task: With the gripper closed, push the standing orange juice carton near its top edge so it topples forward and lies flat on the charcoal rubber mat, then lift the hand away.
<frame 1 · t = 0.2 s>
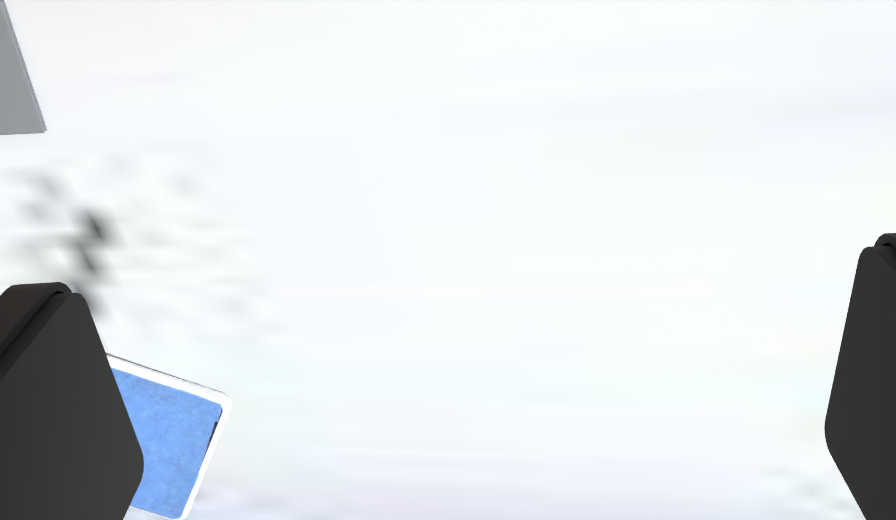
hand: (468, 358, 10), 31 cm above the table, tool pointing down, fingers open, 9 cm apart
tablet computer: (71, 407, 53), on the table
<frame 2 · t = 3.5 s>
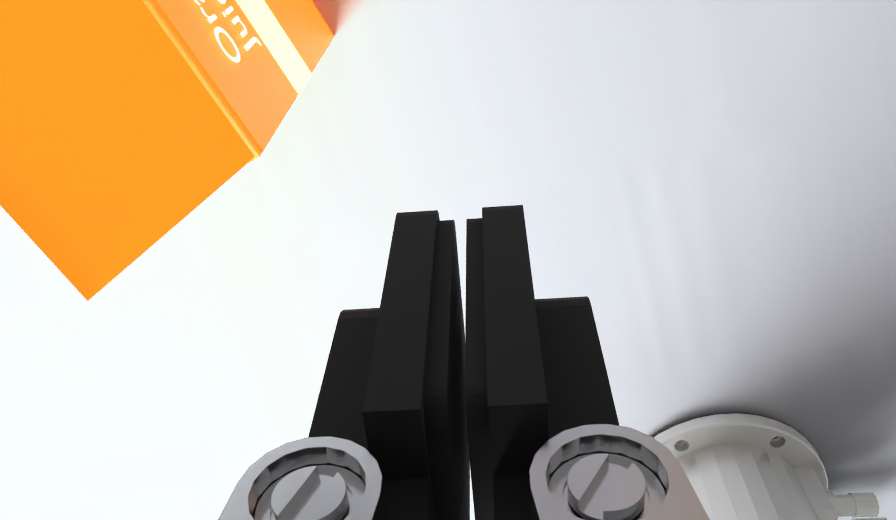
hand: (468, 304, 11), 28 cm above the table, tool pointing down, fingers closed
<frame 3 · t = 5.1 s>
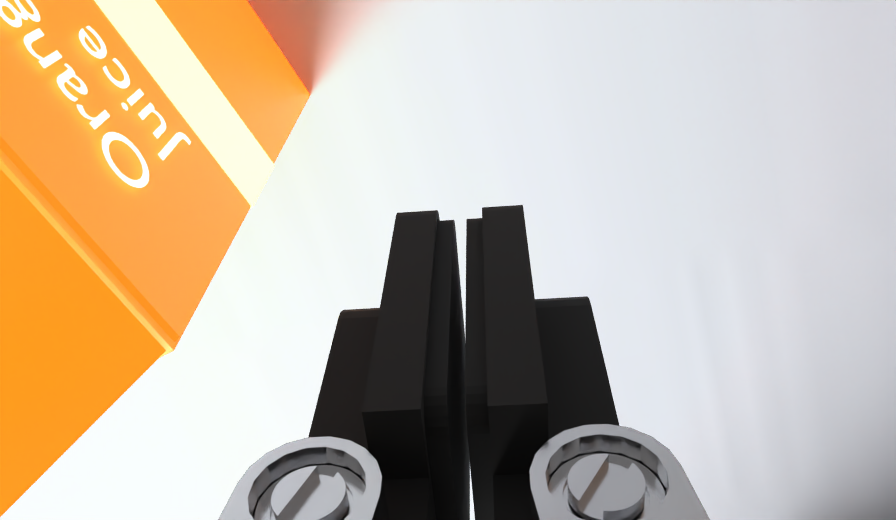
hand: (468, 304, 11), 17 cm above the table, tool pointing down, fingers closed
orange juice: (145, 36, 27), on the table
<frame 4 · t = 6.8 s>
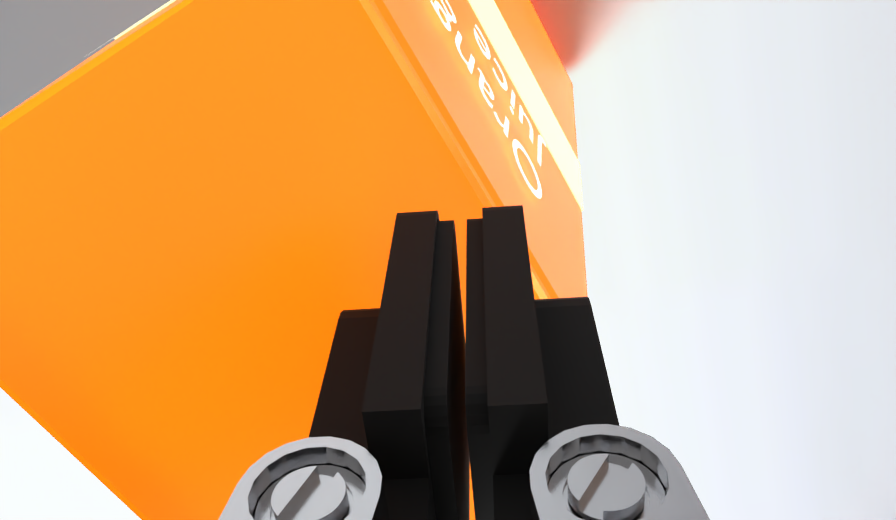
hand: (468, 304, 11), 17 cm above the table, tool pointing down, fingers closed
orange juice: (409, 20, 26), on the table
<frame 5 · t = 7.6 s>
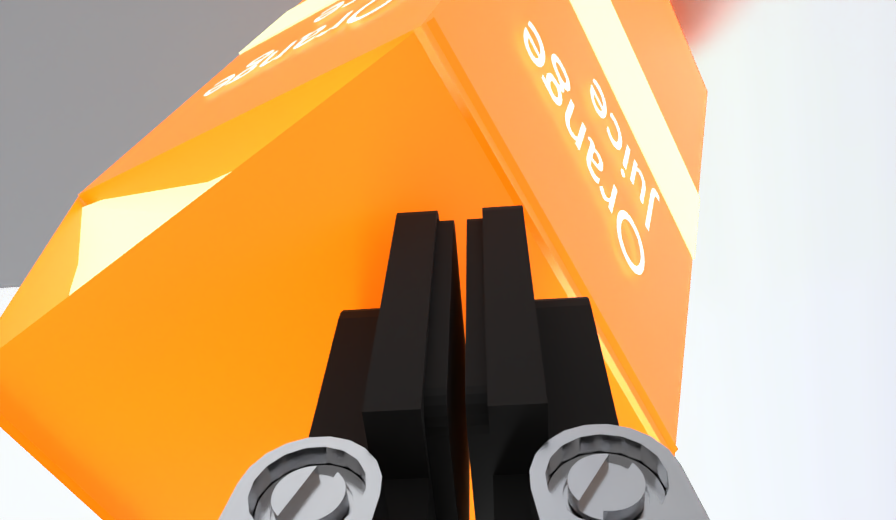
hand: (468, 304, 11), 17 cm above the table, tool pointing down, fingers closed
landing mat: (47, 46, 27), on the table
orange juice: (539, 14, 25), point 1 cm above the table
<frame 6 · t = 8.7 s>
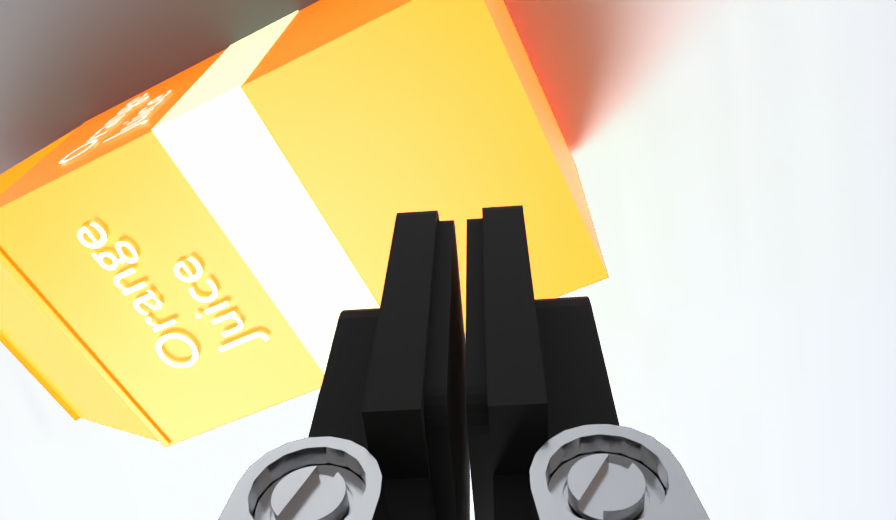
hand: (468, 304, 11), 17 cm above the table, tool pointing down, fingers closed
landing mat: (123, 37, 26), on the table
orange juice: (541, 86, 22), point 4 cm above the table, touching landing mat
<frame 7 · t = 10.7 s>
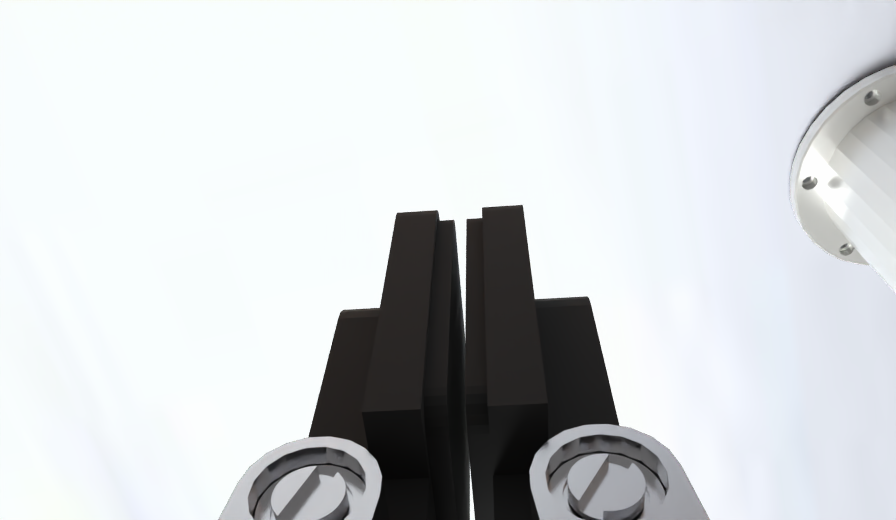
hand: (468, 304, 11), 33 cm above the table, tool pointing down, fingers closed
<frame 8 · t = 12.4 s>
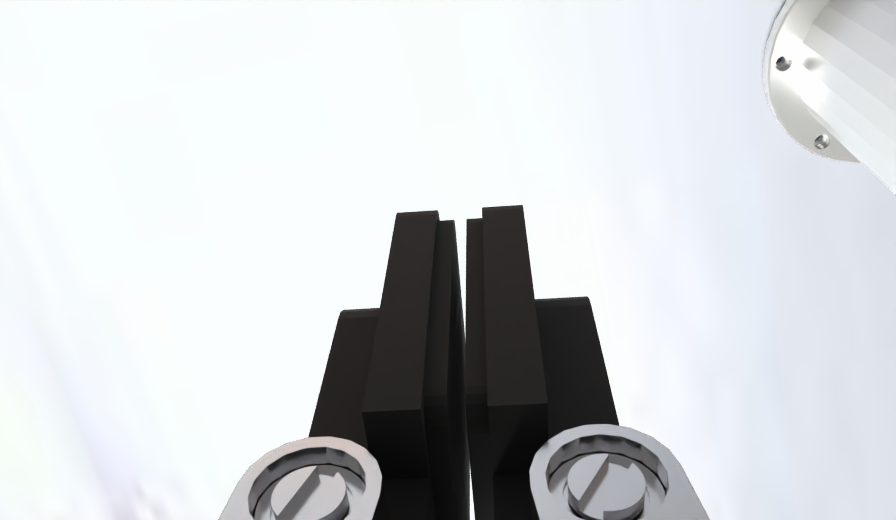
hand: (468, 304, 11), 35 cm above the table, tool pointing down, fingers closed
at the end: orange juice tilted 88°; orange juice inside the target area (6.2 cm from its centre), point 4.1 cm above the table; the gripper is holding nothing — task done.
